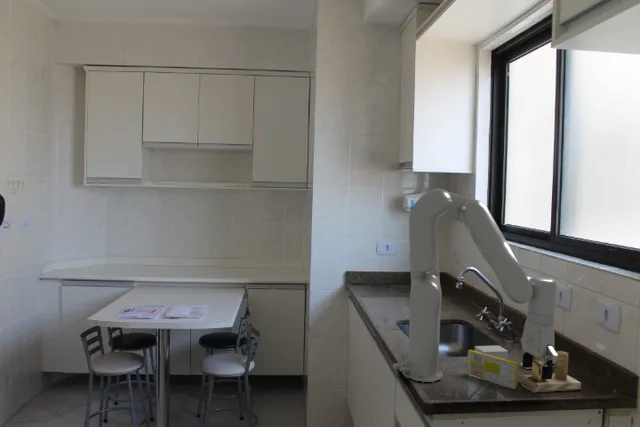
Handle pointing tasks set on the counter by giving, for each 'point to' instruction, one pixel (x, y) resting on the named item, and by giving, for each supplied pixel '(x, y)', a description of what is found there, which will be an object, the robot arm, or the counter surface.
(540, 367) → the peg
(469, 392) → the counter surface
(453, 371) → the counter surface
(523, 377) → the board
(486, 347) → the cover
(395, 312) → the counter surface
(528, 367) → the wooden knobbed lid
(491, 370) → the candy box
